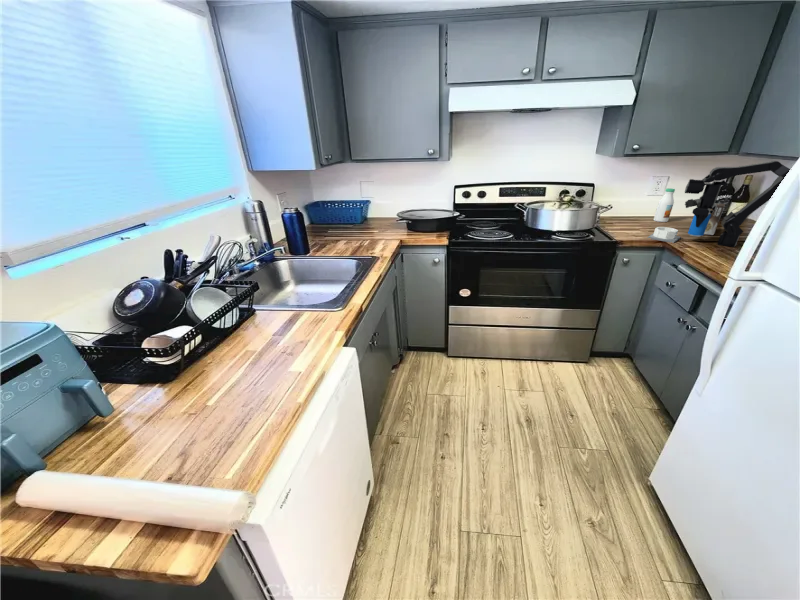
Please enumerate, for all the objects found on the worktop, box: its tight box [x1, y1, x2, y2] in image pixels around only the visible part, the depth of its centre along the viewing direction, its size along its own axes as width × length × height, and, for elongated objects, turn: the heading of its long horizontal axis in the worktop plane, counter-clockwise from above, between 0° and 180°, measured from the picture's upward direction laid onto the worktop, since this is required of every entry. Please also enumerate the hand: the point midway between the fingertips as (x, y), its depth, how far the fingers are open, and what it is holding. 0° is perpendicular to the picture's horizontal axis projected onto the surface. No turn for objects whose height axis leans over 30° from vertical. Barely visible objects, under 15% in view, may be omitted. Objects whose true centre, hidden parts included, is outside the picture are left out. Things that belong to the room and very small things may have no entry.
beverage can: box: [687, 213, 711, 237], centre depth 174 cm, size 6×6×12 cm
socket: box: [647, 226, 681, 244], centre depth 183 cm, size 12×12×5 cm
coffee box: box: [704, 202, 726, 236], centre depth 188 cm, size 9×6×16 cm
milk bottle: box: [653, 188, 676, 223], centre depth 213 cm, size 8×8×20 cm
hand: (698, 225), depth 174 cm, fingers closed on beverage can, 6 cm apart
